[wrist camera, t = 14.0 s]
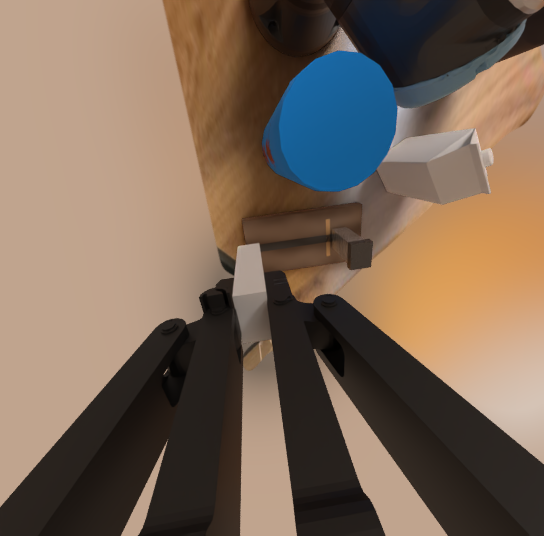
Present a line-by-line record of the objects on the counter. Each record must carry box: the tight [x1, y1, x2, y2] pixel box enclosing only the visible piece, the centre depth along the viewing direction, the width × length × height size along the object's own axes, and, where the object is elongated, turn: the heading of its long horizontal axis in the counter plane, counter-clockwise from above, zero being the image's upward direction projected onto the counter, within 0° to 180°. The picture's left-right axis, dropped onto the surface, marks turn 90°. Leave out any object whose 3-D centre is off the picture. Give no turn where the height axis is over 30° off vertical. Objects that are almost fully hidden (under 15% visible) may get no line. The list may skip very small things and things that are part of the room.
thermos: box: [262, 51, 397, 192], centre depth 31 cm, size 11×11×25 cm
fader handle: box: [332, 227, 373, 270], centre depth 43 cm, size 5×4×10 cm
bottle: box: [496, 7, 544, 63], centre depth 30 cm, size 7×7×20 cm
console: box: [242, 202, 362, 273], centre depth 49 cm, size 12×24×3 cm, turn 97°
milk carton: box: [377, 128, 493, 205], centre depth 37 cm, size 7×7×19 cm
